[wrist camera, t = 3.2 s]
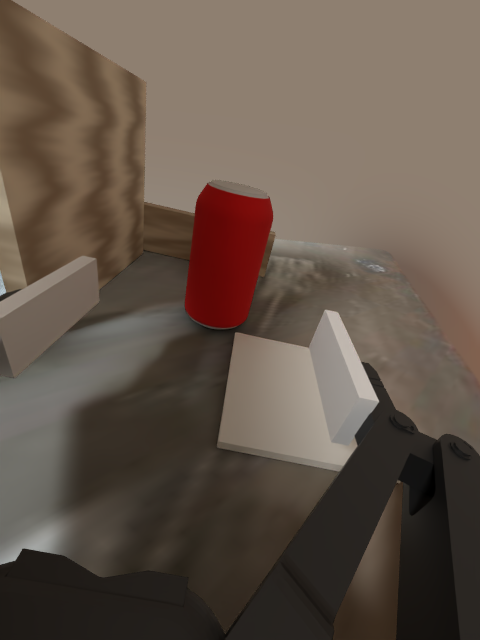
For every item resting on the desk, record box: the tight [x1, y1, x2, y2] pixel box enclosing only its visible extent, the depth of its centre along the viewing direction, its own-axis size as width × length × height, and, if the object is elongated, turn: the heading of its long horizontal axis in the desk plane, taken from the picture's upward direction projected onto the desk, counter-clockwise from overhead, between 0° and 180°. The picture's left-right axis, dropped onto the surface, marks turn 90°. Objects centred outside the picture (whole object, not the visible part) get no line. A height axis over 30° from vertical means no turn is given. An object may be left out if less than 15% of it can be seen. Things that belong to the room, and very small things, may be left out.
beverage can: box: [185, 180, 273, 329], centre depth 24 cm, size 6×6×12 cm
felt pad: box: [217, 332, 401, 483], centre depth 20 cm, size 11×11×1 cm
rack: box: [0, 0, 275, 293], centre depth 25 cm, size 23×18×18 cm
